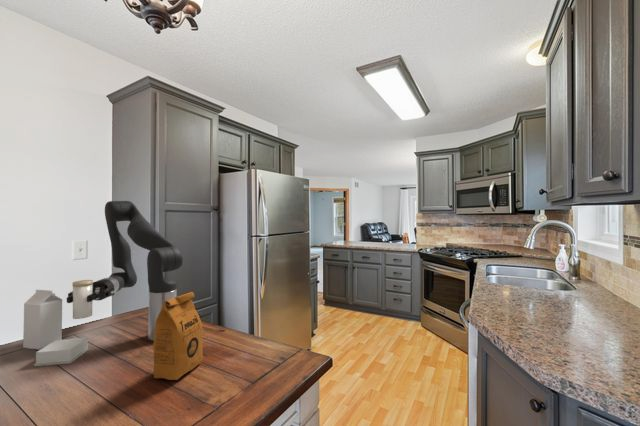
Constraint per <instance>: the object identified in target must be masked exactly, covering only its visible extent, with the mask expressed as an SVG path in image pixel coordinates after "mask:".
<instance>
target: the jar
mask: <svg viewBox="0 0 640 426" xmlns="http://www.w3.org/2000/svg"><path fill="white" fill-rule="evenodd" d="M93 282H94V281H93V279H84V280H83V279H82V280H76V281H73V282H72V291H73V302H72V319H73V320H80V319H81V320H82V319H85V318H89V317H92V316H93V301H94V300H93V301H91V302H87V296H88V295H90V294H93Z"/></svg>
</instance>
